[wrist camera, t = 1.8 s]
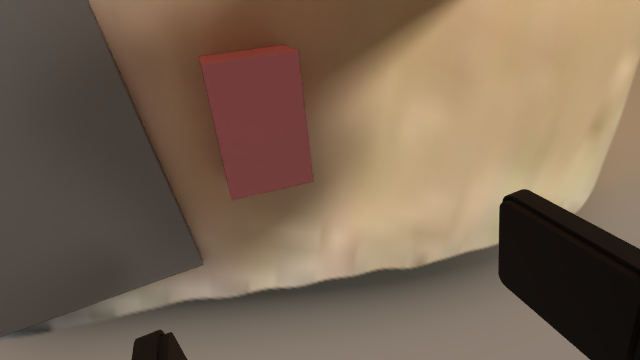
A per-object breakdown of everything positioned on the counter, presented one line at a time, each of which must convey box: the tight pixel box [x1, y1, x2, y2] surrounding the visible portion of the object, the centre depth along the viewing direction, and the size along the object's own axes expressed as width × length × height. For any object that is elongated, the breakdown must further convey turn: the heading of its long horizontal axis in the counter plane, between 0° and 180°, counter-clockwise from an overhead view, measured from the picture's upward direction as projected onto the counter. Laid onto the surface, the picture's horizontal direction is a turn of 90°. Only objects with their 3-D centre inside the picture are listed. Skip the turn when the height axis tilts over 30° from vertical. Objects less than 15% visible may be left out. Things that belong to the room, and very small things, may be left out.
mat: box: [0, 0, 203, 337], centre depth 24 cm, size 18×20×1 cm
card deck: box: [199, 44, 313, 200], centre depth 25 cm, size 6×8×4 cm, turn 6°
